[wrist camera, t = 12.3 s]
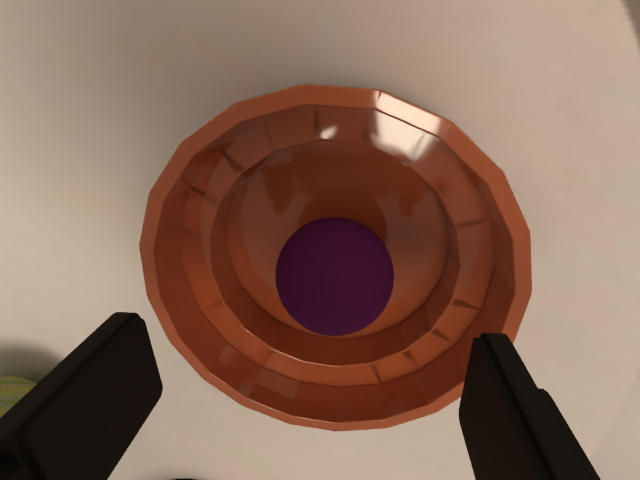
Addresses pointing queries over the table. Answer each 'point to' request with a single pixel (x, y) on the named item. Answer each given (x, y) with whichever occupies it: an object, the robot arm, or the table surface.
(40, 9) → the table surface
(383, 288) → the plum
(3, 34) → the table surface
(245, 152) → the bowl
